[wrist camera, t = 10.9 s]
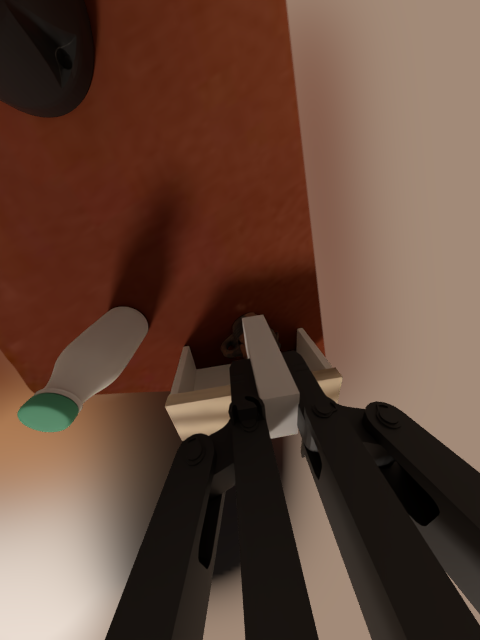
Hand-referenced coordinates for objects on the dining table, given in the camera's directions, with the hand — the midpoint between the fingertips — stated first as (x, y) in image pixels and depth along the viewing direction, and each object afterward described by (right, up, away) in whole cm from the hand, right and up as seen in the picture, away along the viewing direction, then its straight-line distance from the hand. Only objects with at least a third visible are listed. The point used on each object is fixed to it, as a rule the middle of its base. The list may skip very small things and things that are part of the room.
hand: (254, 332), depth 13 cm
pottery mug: (+1, -2, +27) cm, 27 cm away
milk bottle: (-23, 0, +23) cm, 32 cm away
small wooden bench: (0, -6, +29) cm, 29 cm away
